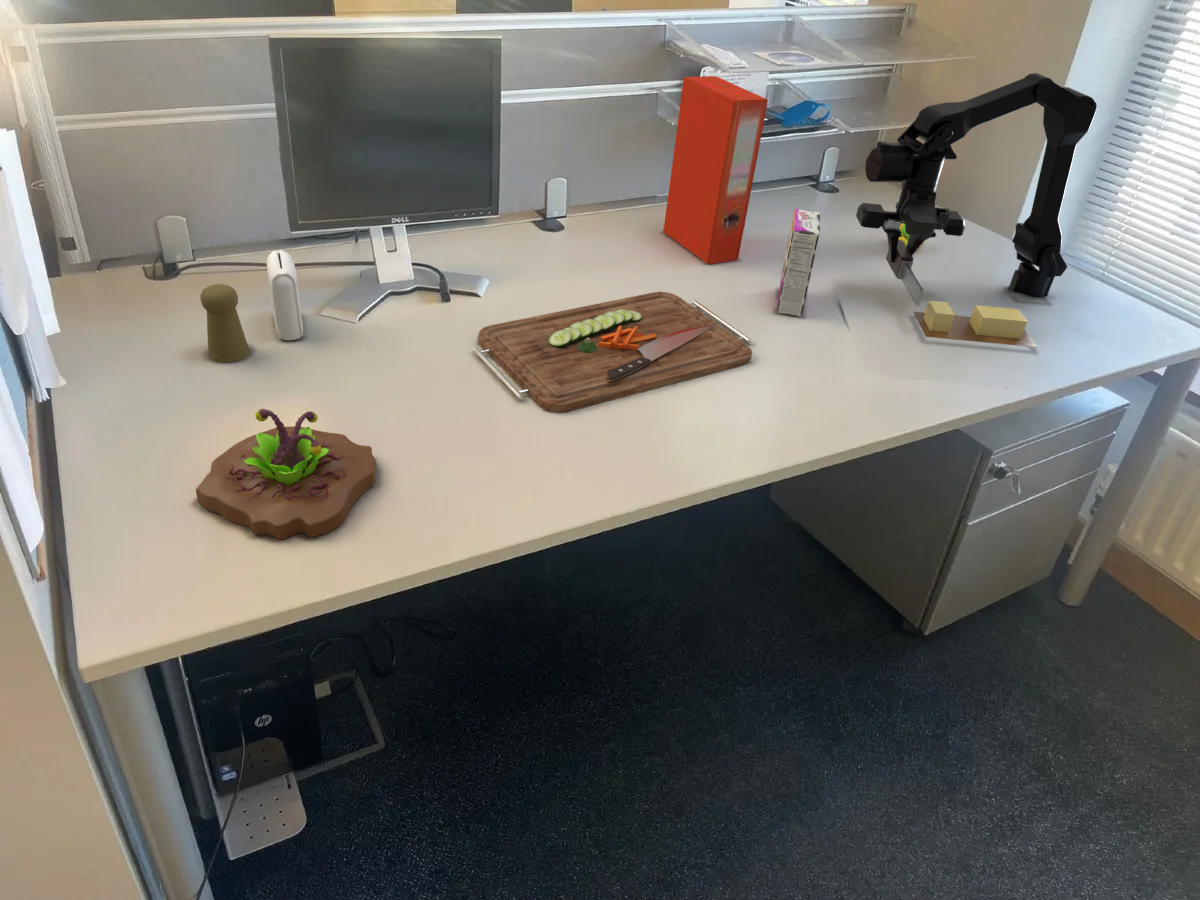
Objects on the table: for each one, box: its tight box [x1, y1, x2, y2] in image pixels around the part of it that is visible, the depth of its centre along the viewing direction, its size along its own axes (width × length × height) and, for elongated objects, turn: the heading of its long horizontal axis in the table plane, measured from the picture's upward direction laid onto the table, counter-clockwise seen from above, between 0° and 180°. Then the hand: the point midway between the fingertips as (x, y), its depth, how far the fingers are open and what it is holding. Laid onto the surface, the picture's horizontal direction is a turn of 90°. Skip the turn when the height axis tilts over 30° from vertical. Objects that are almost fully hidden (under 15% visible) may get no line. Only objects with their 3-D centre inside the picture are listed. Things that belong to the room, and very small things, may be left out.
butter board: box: [913, 311, 1038, 348], centre depth 165 cm, size 20×10×1 cm, turn 87°
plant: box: [195, 408, 377, 540], centre depth 111 cm, size 20×20×11 cm
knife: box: [885, 240, 925, 307], centre depth 166 cm, size 2×22×4 cm, turn 177°
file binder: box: [662, 75, 769, 265], centre depth 181 cm, size 8×17×32 cm, turn 28°
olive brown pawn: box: [199, 283, 251, 363], centre depth 137 cm, size 6×6×11 cm
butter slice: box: [923, 300, 956, 332], centre depth 164 cm, size 4×5×4 cm
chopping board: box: [472, 291, 753, 413], centre depth 150 cm, size 45×27×3 cm, turn 122°
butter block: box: [969, 304, 1028, 339], centre depth 164 cm, size 8×5×4 cm, turn 87°
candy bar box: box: [776, 208, 821, 318], centre depth 166 cm, size 11×5×16 cm, turn 168°
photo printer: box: [266, 249, 304, 341], centre depth 145 cm, size 10×4×12 cm, turn 20°
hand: (898, 262), depth 171 cm, fingers closed on knife, 2 cm apart
